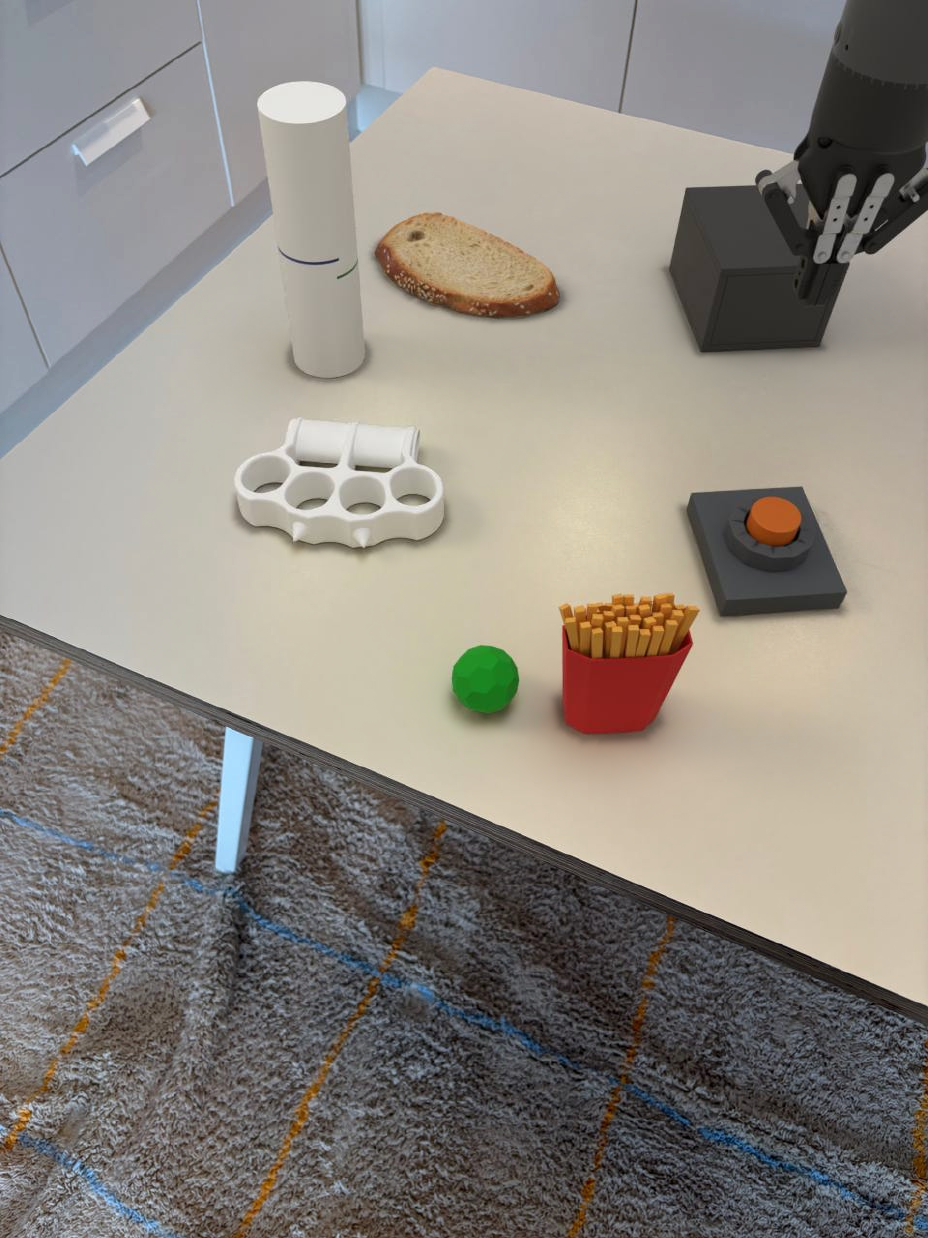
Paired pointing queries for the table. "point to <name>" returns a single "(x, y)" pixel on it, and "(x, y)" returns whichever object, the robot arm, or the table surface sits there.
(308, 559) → the table surface
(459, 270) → the bread slice
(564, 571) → the table surface
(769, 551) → the control block
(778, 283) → the dark grey paneled cube
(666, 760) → the table surface
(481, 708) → the polyhedron
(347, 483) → the knuckle duster
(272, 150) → the cylindrical container
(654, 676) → the french fries
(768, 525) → the button
